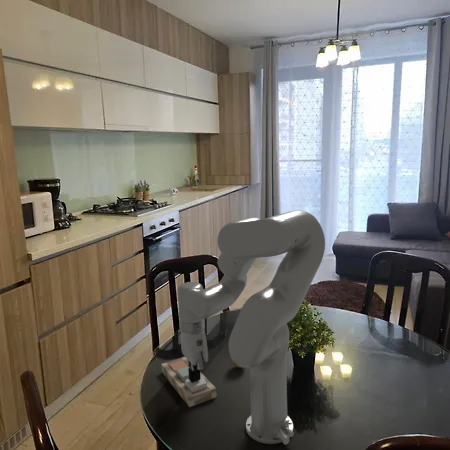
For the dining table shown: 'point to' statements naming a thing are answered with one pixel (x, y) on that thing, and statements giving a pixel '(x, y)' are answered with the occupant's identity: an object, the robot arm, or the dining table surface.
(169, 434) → the dining table surface
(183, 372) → the sage button
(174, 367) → the terracotta button
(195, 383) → the offwhite button
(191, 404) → the button board
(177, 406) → the dining table surface
